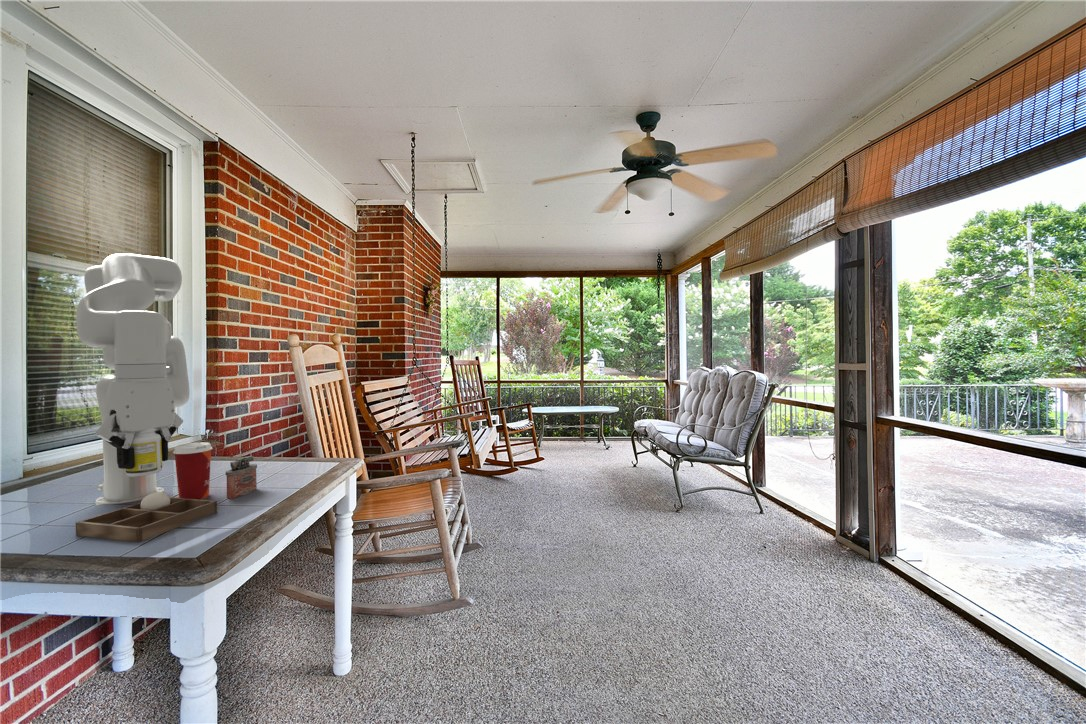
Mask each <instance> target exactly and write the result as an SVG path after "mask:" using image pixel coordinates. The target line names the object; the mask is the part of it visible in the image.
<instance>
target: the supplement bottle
mask: <svg viewBox="0 0 1086 724" xmlns="http://www.w3.org/2000/svg"><path fill="white" fill-rule="evenodd" d="M155 431H156V429H155V428H151V429H147V430H144V431H140V432H135V434H134V437H133V440H132V443H131V446H130V448H134V458H135V467H134V468H132V469H126V475H127V476H130V477H135V476H145V475H151V474H155V473H156V474H158V473H160V472H161V471H162V470H163V461H162V446H161V436H160V435H159V434H156V433H155Z"/></svg>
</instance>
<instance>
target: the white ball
mask: <svg viewBox="0 0 1086 724" xmlns="http://www.w3.org/2000/svg"><path fill="white" fill-rule="evenodd" d="M170 497H171V496H169V495H168V494H167V493H165V492H153V493H150V494H148V495H147V496H146V497H144V498H143V499H142V500H141V501H140V502H141V505H140V507H141V509H142V510H154V509H157V508H160V507H163V506H166V505H169V504H170V502H171V501H170Z"/></svg>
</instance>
